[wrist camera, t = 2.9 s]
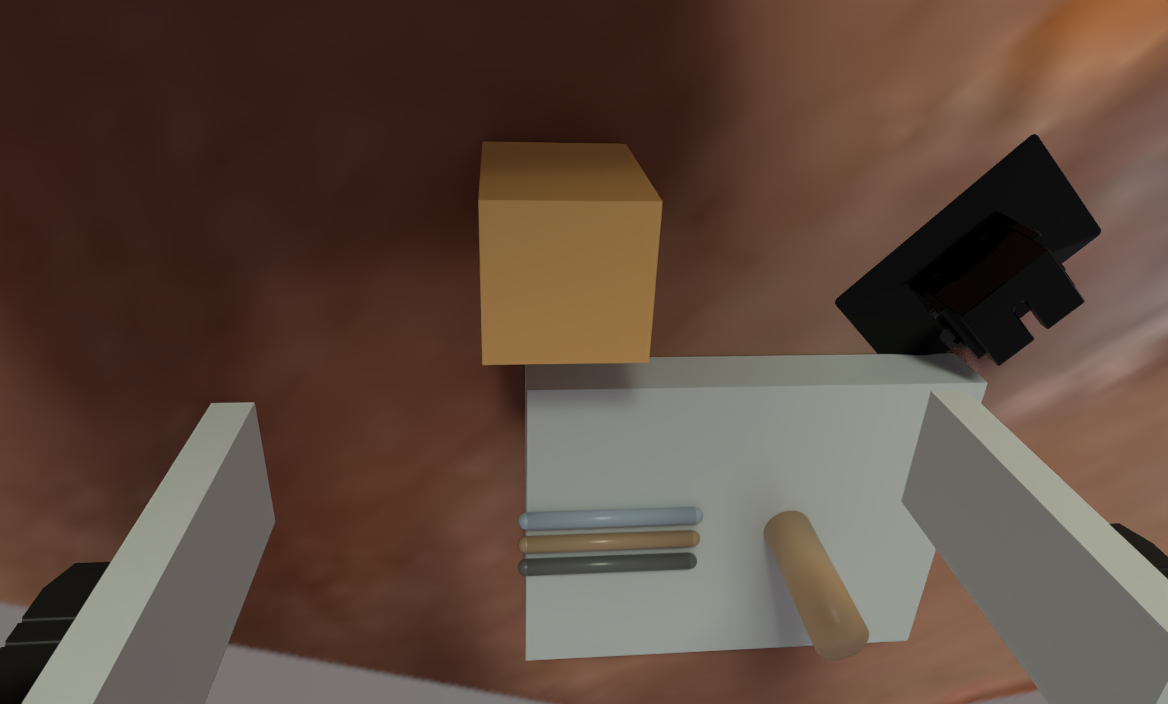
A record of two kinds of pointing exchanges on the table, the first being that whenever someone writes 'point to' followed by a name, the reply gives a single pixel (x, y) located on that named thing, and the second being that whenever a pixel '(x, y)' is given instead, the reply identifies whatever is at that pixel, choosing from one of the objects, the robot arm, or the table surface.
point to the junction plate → (725, 502)
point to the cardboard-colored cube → (566, 253)
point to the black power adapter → (979, 266)
